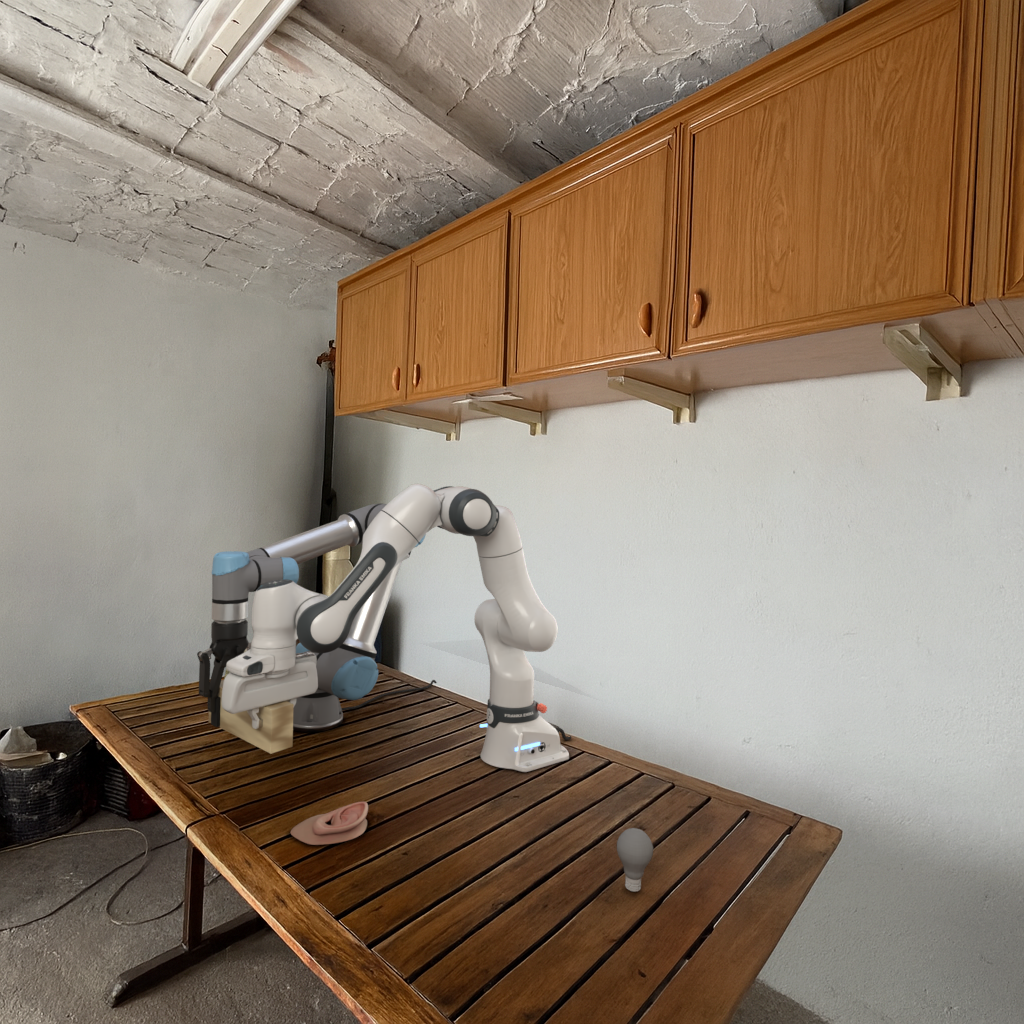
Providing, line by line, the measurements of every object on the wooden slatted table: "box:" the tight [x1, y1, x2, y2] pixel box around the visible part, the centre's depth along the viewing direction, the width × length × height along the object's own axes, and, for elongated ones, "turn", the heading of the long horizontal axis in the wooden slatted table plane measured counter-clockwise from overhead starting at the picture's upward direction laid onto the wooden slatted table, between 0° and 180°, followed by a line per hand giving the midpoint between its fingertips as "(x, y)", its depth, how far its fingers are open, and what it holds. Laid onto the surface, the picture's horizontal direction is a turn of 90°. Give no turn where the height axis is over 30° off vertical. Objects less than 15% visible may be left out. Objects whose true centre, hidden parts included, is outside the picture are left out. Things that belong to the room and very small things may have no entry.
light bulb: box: [616, 827, 654, 893], centre depth 106 cm, size 6×6×10 cm
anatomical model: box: [290, 801, 369, 846], centre depth 120 cm, size 13×4×12 cm
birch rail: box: [207, 679, 294, 755], centre depth 138 cm, size 5×26×9 cm, turn 52°
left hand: (228, 721), depth 144 cm, fingers closed on birch rail, 5 cm apart
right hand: (271, 723), depth 132 cm, fingers closed on birch rail, 5 cm apart
